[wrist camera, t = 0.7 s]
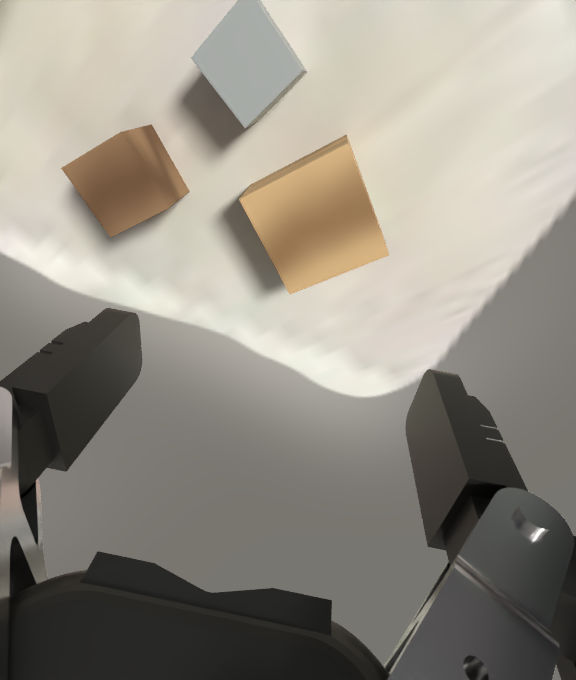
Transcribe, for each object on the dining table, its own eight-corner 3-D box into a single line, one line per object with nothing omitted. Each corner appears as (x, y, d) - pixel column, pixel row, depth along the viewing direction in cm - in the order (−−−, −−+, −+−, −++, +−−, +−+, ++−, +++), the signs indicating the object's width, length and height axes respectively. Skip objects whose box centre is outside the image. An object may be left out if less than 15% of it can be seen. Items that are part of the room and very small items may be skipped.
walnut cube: (99, 155, 26) (61, 168, 22) (152, 124, 25) (120, 132, 21) (139, 216, 28) (110, 237, 24) (189, 191, 27) (167, 209, 23)
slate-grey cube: (211, 61, 22) (190, 58, 19) (261, 2, 21) (248, -12, 17) (257, 121, 24) (245, 128, 21) (307, 71, 22) (302, 70, 19)
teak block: (250, 184, 26) (238, 199, 23) (346, 134, 24) (348, 142, 21) (294, 270, 29) (289, 294, 26) (382, 233, 27) (389, 255, 24)
